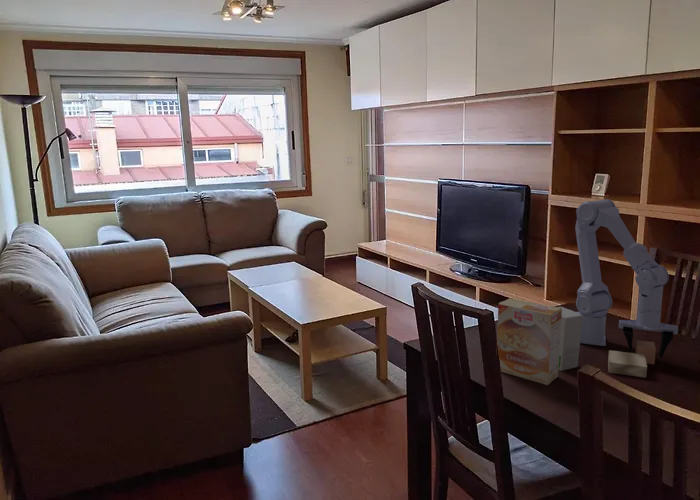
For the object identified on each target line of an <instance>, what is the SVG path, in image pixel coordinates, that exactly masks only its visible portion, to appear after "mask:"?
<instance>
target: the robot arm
mask: <svg viewBox="0 0 700 500" xmlns="http://www.w3.org/2000/svg"><path fill="white" fill-rule="evenodd" d="M575 214H576V221H575V226H574V227H575V228H574V229H575V236H576V243H577V251H578V257H579V258H578V259H579V266H580V275H581V281H582V283H581V285H580V286H579V288H578V289H577V291H576V294H577V295H576V297H577V298H576V301H575V305H576V309H577V311H575V312H576V313H578V314H581V315H583V320H582V329H581V339H580V344H584V345H591V346H592V345H593V346H599V347H600V346H601V347H605V346H607V340H606V335H605V333H606V321H607V314H608V310H610V309H611V308H612V306H613V298H612V295H611V293H610V291H609V287H608V286H607V285H606V284H605V283H604V282H602V281H603V280H602V273H601V266H600V258H599V251H598V242H597V234H596V231H597V230H598V229H599V228H600V227H604V228H607V229H608V230H609V232H610V233H611V234H612V235H613V237H614V238H615V239H616V240H617V242H618V243H619V244H620V245H621V247H622V248H623V254H622V255H623V257H624V258H625V260H626V261H627V263H628V264H629V266H630V267H631V268H632V270H633V271H634V272H635V274H636V275H635V282H636V284H637V287H638V290H637V291H638V303H637V314H636V315H637V317H636V319H635V320H633V319H632V320H627V319H626V320H625V319H619V320H618V321H619V322H618V328H619V329H622V330H623V335H624V337H625V340H626V341H627V347H628V353H633V337H634V330H638V331H639V330H640V331H650V332H659V333H660V343H659V344H660V345H659V351H658V352H659V353H658V356H659V358H661V359H662V358H663V357H664V354H665V351H666V349H667V348H668V346H669V344H670V343H671V342H672V340H673V339H674V335H678V332H679V326H678V325H675V324H669V323H663V322H661V316H662V315H661V314H662V305H663V304H662V303H663V292H664V286H665V285H666V284H667V283H668V282H669V280H670V279H669V278H670V276H669V272H668V270H667V268H666V267H665V266H663V265H660V264H659V263H657V262H656V261H655V259H654V258H653V257H652V255H650V253H649V251H648V248H647V246H646V245H644V244H643V243H639V242H636V241H635V239H634V237H633V236H632V234H631V233H630V231H629V230H628V229H629V228H627V226H626V224H625V223H624V220H622V217H621V216H620V209H619V208H618V207H617V206H616V204H615V203H614V201H612V200H611V199H608V198H604V199H599V200H598V199H597V200H591V201H590V200H585V201H583V202H581V204H579V206H578V207H577V208H576V209H575Z"/></svg>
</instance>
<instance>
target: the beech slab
mask: <svg viewBox="0 0 700 500" xmlns="http://www.w3.org/2000/svg"><path fill="white" fill-rule="evenodd" d="M607 357H608V358H607V359H608V360H607V364H608V366H607V367H608V373H610V374H616V375H617V374H618V375H624V376H625V375H626V376H630V377H631V376H632V377H638V378H647V374H648V373H647V372H648V364H646V359H645V355H644V354H636V352H635V353H634V352H632V353H629V352H626V351H625V352H624V351H619V350H611V349H610V350H608V356H607Z"/></svg>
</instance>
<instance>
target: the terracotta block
mask: <svg viewBox="0 0 700 500" xmlns="http://www.w3.org/2000/svg"><path fill="white" fill-rule="evenodd" d="M635 344H636V346H635V353H636V354H644V355H645V359H646V364H647V365H655V362H656V352H657V347H656V344H655V341H647V340H639V339H638V340H636V343H635Z"/></svg>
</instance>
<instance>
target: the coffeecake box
mask: <svg viewBox="0 0 700 500" xmlns="http://www.w3.org/2000/svg"><path fill="white" fill-rule="evenodd" d="M497 305H498V307H497V308H498V310H497V311H498V312H497V329H496V330H497V333H496V334H497V336H496V347H497V346H498V353H499V360H500V367H501V371H500V372H502V373H504V374H508V375H510V376H511V375H512V376H515V377H518V378H521V379H525V380H529V381H532V382H535V383H539V384H541V385H545V386H548V385H550V384H551V383H552V382H553V381H554V380H556V379H557V378H559V351H560V334H561V318H562V308H557V307H558V306H552V305H546V304H541V303H536V302H533V301H532V302H531V301H527V300H526V301H525V300H520V299H516V298H511V297H509V298H507V299H506V300H504V301H500V302H499V303H498V304H497Z"/></svg>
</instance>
